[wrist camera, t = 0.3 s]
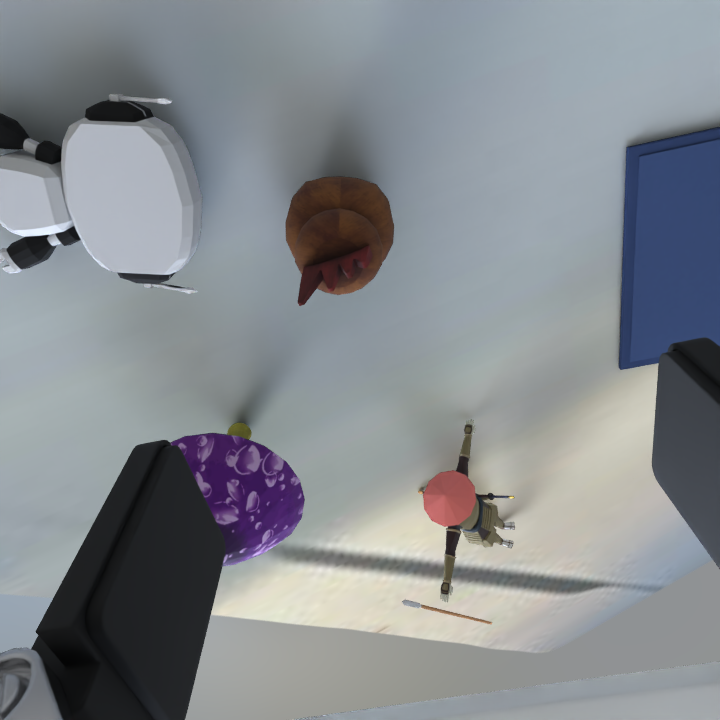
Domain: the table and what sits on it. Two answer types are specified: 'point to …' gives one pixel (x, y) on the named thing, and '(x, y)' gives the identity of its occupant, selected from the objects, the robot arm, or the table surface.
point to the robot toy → (103, 193)
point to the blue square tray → (670, 246)
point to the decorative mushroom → (244, 490)
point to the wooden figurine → (338, 234)
